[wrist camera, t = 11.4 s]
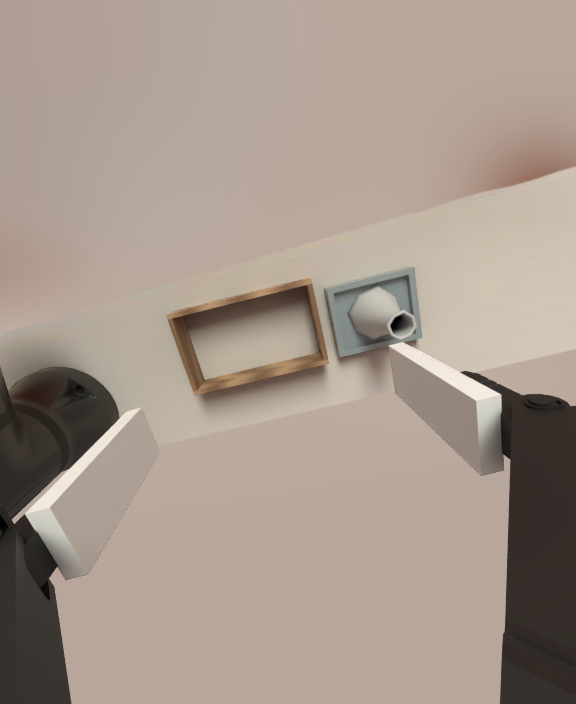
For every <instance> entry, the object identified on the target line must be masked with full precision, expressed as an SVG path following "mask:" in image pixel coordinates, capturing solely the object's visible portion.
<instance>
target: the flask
mask: <svg viewBox="0 0 576 704" xmlns="http://www.w3.org/2000/svg"><path fill="white" fill-rule="evenodd" d="M348 315H349V317H350V319H351V322H352V324H353V326H354V329H355V331H357V332H359V333H361V334H362V335H364V336H366V337H368V338H370V339H375V338H378V337H380V336H383V335H386V334H390V336H392V337H394V338H396V339H398V340H400V341H401V340H403V339H406V338H408V337H410V336H411V335H412V334H413V332H414V331H415V329H416V328H417V323H416V321H415V318H414V316H413V315H412V314H410V313H408V312H406V311H404V310H402V311H400V308H399V305H398V303H397V300H396V297H395V295H393V294H392V293H390V292H388V291H386V290H385V289H383V288H381V287H379V286H378V285H377V286H375V287H373V288H371V289H369V290H367V291H365V292H363V293H360V294H358V296H357V298H356V299H355V301H354V303H353V305H352V306H351V308H350V310H349V311H348Z"/></svg>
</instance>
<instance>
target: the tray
mask: <svg viewBox="0 0 576 704" xmlns="http://www.w3.org/2000/svg"><path fill="white" fill-rule="evenodd" d="M377 285H378V286H379V287H381V288H383V289H385V290H386V291H388V292H390V293H392V294H393V295H395V297H396V300H397V303H398V305H399V308H400V311H402V310H404V311H406V312H408V313H410V314H412V315H413V316H414V318H415V321H416V323H417V328H416V329H415V331H414V332H413V334H412V335H411V336H410V337H408V338H406V339H403V340H401V341H400V340H398V339H396V338H394V337H392V336H390V334H386V335H383V336H380V337H378V338H375V339H370V338H368V337H366V336H364V335H362V334H361V333H359V332H357V331H355V329H354V326H353V324H352V322H351V319H350V317H349V315H348V311H349V310H350V308H351V306H352V305H353V303H354V301H355V299H356V298H357V296H358V294H360V293H363V292H365V291H367V290H369V289H371V288H373V287H375V286H377ZM325 293H326V298H327V303H328V307H329V312H330V317H331V322H332V327H333V332H334V337H335V342H336V347H337V352H338V355H339V356H340V357H344V356H348V355H353V354H357V353H361V352H365V351H369V350H374V349H378V348H382V347H386V346H389V345H393V344H397V343H401V342H407V341H411V340H416V339H420V338H422V330H421V322H420V313H419V305H418V296H417V288H416V279H415V271H414V267H407V268H403V269H399V270H395V271H391V272H387V273H383V274H379V275H375V276H371V277H367V278H363V279H359V280H355V281H351V282H347V283H343V284H338V285H334V286H330V287H326V288H325Z"/></svg>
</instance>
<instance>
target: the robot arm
mask: <svg viewBox="0 0 576 704" xmlns="http://www.w3.org/2000/svg"><path fill="white" fill-rule="evenodd" d="M388 347H389V354H390V361H391V367H392V374H393V381H394V387H395V393H396V394H397V395H398V396H399V397H400V398H401V399H402V400H403V401H404V402H405V403H406V404H407V405H408V406H409V407H410V408H411V409H412V410H413V411H414V412H415V413H416V414H417V415H418V416H419V417H420V418H421V419H422V420H423V421H425V422H426V423H427V424H428V425H429V426H430V427H431V428H432V429H433V430H434V431H435V432H436V433H437V434H438V435H439V436H440V437H441V438H442V439H443V440H444V441H445V442H446V443H447V444H448V445H450V446H451V448H453V450H455V451H456V452H457V453H458V454H459V455H460V456H461V457H462V458H463V459H464V460H465V461H466V462H467V463H468V464H469V465H470V466H471V467H472V468H473V469H474V470H475V471H476V472H477V473H478V474H480V476H483V475H487V474H491V473H496V472H499V471H503V470H504V459H503V454H504V455H505V456H506V457H508V458H509V459H510V460H511V461H510V493H509V523H508V524H509V525H508V554H507V586H506V616H505V617H506V618H505V632H504V634H503V645H502V668H501V694H500V704H576V406H570V405H569V404H568V402H566V401H564V400H562V399H560V398H557V397H553V396H550V395H543V394H527V395H520V394H518V393H516V392H514V391H512V390H510V389H508V388H506V387H504V386H502V385H500V384H497V383H496V382H494V381H492V380H489V379H488V378H486V377H484V376H482V375H480V374H477V373H472V372H468V371H463V372H458V371H456V370H454V369H452V368H450V367H449V366H447V365H445V364H443V363H441V362H439V361H437V360H435V359H434V358H432V357H430V356H428V355H426V354H424V353H422V352H420V351H419V350H417V349H415V348H413V347H411V346H409V345H407V344H405V343H404V342H401V343H397V344H393V345H389V346H388ZM159 454H160V450H159V448H158V445H157V443H156V441H155V438H154V436H153V434H152V431H151V429H150V426H149V424H148V422H147V419H146V417H145V415H144V412H143V410H142V408H138V409H134V410H130V411H127V412H126V413H125V414H124V415H123V416H122V417H121V418H120V419H119V420H118V412H117V408H116V405H115V402H114V400H113V398H112V396H111V395H110V393H109V392H108V391H107V390H106V388H105V387H104V386H103V385H102V384H101V383H99V382H98V381H97V380H96V379H94V378H93V377H91V376H90V375H88V374H86V373H84V372H81V371H79V370H75V369H72V368H66V367H50V368H45V369H42V370H39V371H37V372H35V373H32V374H30V375H28V376H26V377H24V378H22V379H21V380H19V381H18V382H17V383H15V384H14V385H13V386H12V388H11V389H10V390H9V391H8V390H7V386H6V383H5V380H4V377H3V374H2V370H1V367H0V704H71V698H70V691H69V684H68V677H67V671H66V665H65V657H64V650H63V644H62V637H61V630H60V623H59V617H58V610H57V602H56V595H55V589H54V586H53V584H52V583H51V581H50V580H49V577H50V576H51V575H52V573H53V572H54V570H55V569H56V567H58V568H59V570H60V572H61V573H62V575H63V577H64V578H65V580H68V579H72V578H76V577H80V576H84V575H88V574H89V573H90V571H91V569H92V567H93V566H94V564H95V562H96V561H97V559H98V557H99V556H100V554H101V552H102V551H103V549H104V547H105V545H106V544H107V542H108V540H109V539H110V537H111V535H112V534H113V532H114V530H115V529H116V527H117V525H118V524H119V522H120V520H121V518H122V517H123V515H124V513H125V511H126V510H127V508H128V506H129V505H130V503H131V501H132V500H133V498H134V496H135V495H136V493H137V491H138V489H139V488H140V486H141V484H142V482H143V481H144V479H145V477H146V476H147V474H148V473H149V471H150V469H151V467H152V466H153V464H154V462H155V461H156V459H157V457H158V456H159ZM69 468H70V469H69ZM67 469H69V470H68V471H67V472H66V473H65V474H64V475H63V476H62V477H61V478H60V479H59V480H58V481H57V482H56V483H55V484H54V485H53V486H52V487H51V488H50V489H49V490H48V491H47V492H46V493H45V494H44V495H43V496H42V497H41V498H40V499H39V500H38V501H37V502H36V503H35V504H34V505H33V506H32V507H31V508H30V509H29V510H28V511H27V512H26V513H25V514H24V515H23V516H22V517H21V518H20V519H19V520H18V521H17V522H16V523H15V524H14V523H13V522H12V519H13V518H14V516H16V515H17V514H18V513H19V512H20V511H21V510H22V509H23V508H24V507H25V506H26V505H27V504H28V503H29V502H30V501H31V500H32V499H34V497H36V496H37V495H38V494H39V493H40V492H41V491H42V490H43V489H44V488H45V487H46V486H47V485H48V484H49V483H50V482H51V481H52V480H53V479H54V478H56V477H57V475H59V474H60V473H61V472H63V471H65V470H67Z"/></svg>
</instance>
